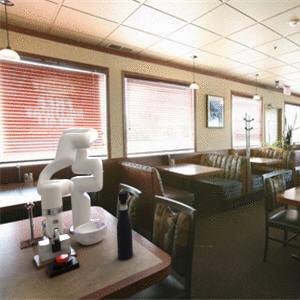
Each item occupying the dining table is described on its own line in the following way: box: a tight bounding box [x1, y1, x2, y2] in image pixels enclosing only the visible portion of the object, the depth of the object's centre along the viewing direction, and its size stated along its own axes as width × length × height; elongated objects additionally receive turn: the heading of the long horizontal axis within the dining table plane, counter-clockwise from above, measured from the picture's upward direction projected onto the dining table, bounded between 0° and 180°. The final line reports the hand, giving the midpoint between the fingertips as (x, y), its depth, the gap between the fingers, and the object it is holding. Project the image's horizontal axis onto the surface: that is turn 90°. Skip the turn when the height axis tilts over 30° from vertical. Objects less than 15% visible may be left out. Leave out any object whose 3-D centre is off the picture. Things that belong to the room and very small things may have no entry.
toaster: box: [37, 234, 72, 262], centre depth 106 cm, size 11×6×7 cm, turn 137°
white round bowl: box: [73, 221, 108, 246], centre depth 123 cm, size 15×15×8 cm
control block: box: [45, 256, 80, 279], centre depth 98 cm, size 10×8×4 cm
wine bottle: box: [116, 191, 134, 261], centre depth 106 cm, size 6×6×30 cm
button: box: [56, 254, 68, 263], centre depth 97 cm, size 4×4×2 cm
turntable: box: [32, 247, 78, 270], centre depth 106 cm, size 14×12×2 cm
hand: (54, 249), depth 106 cm, fingers open, 5 cm apart
